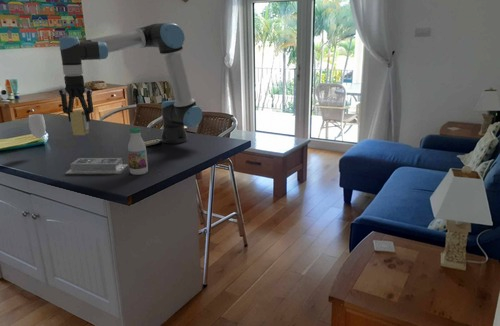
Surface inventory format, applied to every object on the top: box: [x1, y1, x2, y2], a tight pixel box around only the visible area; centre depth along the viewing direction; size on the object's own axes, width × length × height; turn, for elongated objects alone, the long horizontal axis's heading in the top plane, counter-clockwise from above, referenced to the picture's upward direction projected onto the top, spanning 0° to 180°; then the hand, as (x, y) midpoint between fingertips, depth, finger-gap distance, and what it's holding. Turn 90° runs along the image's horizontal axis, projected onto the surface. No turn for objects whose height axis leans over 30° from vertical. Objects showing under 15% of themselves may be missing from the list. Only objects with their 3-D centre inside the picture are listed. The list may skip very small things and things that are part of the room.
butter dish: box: [65, 157, 129, 175], centre depth 182 cm, size 24×12×4 cm, turn 89°
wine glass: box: [28, 113, 46, 139], centre depth 202 cm, size 7×7×21 cm
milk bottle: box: [127, 127, 149, 176], centre depth 176 cm, size 8×8×20 cm
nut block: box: [70, 109, 90, 136], centre depth 177 cm, size 5×5×10 cm
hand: (80, 128), depth 177 cm, fingers closed on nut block, 5 cm apart
